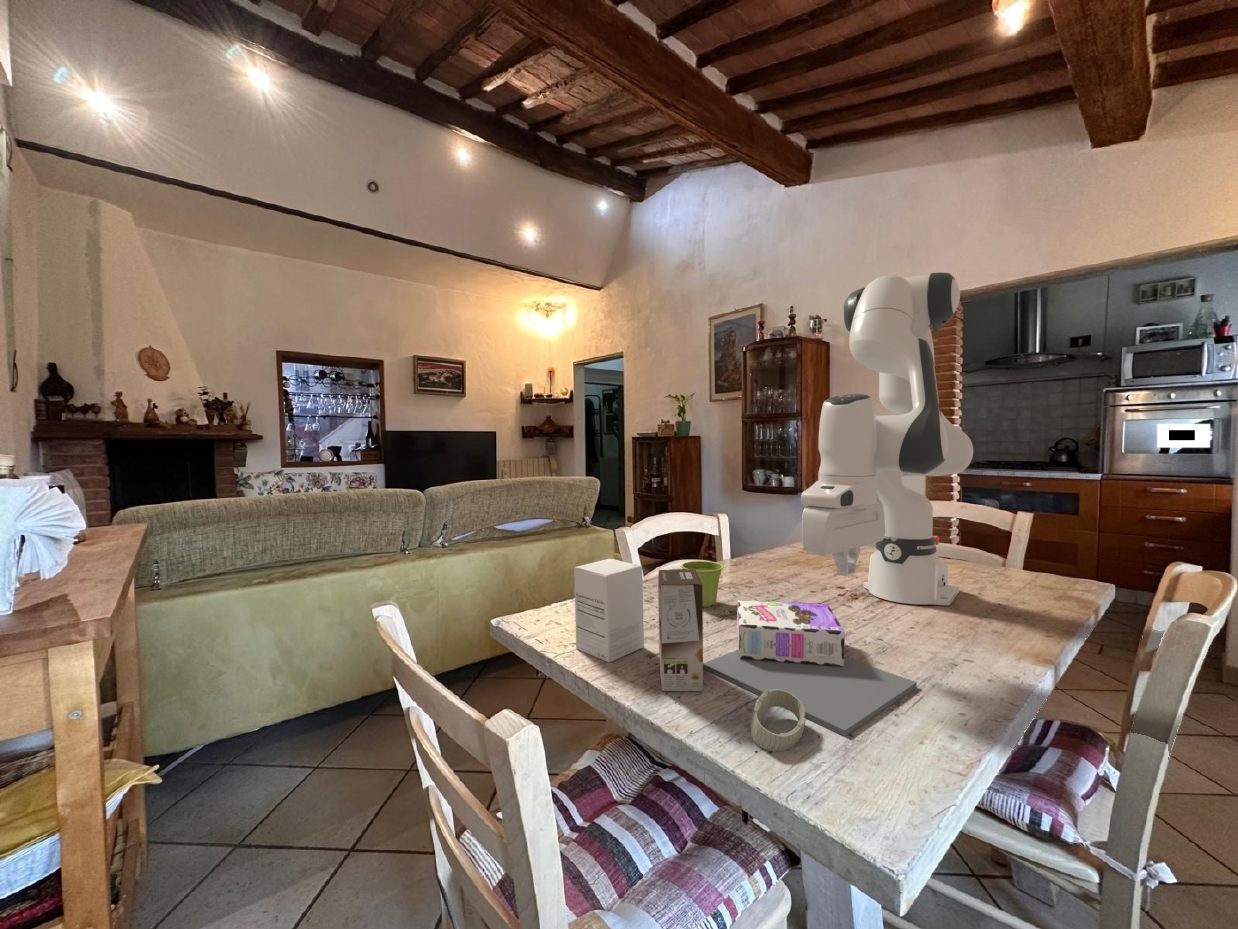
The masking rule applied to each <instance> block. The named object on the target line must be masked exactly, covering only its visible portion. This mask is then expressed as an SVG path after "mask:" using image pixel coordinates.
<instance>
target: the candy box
mask: <svg viewBox="0 0 1238 929" xmlns="http://www.w3.org/2000/svg"><path fill="white" fill-rule="evenodd" d="M736 610H737V614H736V617H737V618H736V625H737V626H736V629H737V630H736V632H737V645H738V649H739V658H744V659H756V660H768V661H780V662H793V663H808V664H818V665H831V666H844V657H845V643H846V638H845V635H846V634H845V630H844V629H843V627H842V626H841V624H840V622H839V620H838V618H837V616H836V615H835V614H834V612H833V609H831V607H830V606H829V604H828V603H813V602H812V603H811V602H789V601H788V602H787V601H768V600H750V599H749V600H746V599H745V600H744V599H738V600H737V609H736Z"/></svg>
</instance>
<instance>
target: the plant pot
mask: <svg viewBox="0 0 1238 929" xmlns="http://www.w3.org/2000/svg"><path fill="white" fill-rule="evenodd" d="M680 568H681V569H696V571H697V574H698V576H699V578H700V580H701V582H702V584H703V608H708V607H710V606H716V604H717V599H718V589H719V582H720V577H721V575H722V570H723V569H724V565H723V564H721V563H719V562H714V561H706V560H693V561H686V562H683V563H681V564H680Z"/></svg>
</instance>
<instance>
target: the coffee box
mask: <svg viewBox="0 0 1238 929" xmlns="http://www.w3.org/2000/svg"><path fill="white" fill-rule="evenodd" d="M657 577H658V580H657V581H658V583H657V584H658V593H657V594H658V596H657V597H658V600H657V601H658V644H659V645H658V650H659V653H658V656H659V657H658V658H659V660H658V661H659V674H660V688H661V691H662V692H702V691H703V690H704V669H703V663H704V637H703V636H704V619H703V618H704V617H703V616H704V613H703V612H704V611H703V610H704V609H703V608H704V607H703V584H702V582H701V580H700V578H699V576H698V574H697V571H696V569H683V568H677V569H675V568H673V569H671V568H670V569H659V570H658V576H657Z"/></svg>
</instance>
